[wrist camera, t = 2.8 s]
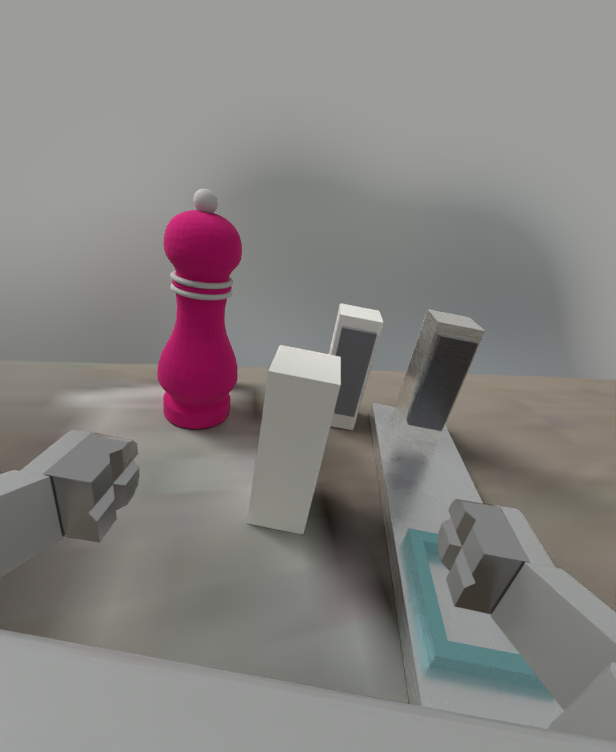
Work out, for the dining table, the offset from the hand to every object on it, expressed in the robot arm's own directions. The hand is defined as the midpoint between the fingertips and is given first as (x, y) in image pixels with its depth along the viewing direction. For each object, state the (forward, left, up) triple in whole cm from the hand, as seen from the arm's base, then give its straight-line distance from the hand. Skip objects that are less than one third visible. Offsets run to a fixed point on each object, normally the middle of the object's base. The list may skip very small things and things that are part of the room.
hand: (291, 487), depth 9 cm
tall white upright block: (0, +12, -14) cm, 19 cm away
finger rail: (+12, +14, -14) cm, 23 cm away
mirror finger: (+4, +26, -14) cm, 30 cm away
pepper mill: (-10, +22, -14) cm, 28 cm away
